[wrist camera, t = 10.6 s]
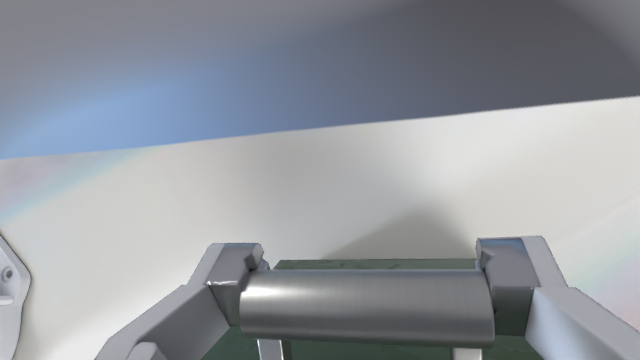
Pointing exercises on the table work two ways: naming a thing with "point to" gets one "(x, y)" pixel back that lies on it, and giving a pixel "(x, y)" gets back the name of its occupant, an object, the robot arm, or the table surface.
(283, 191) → the table surface
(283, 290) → the lid
